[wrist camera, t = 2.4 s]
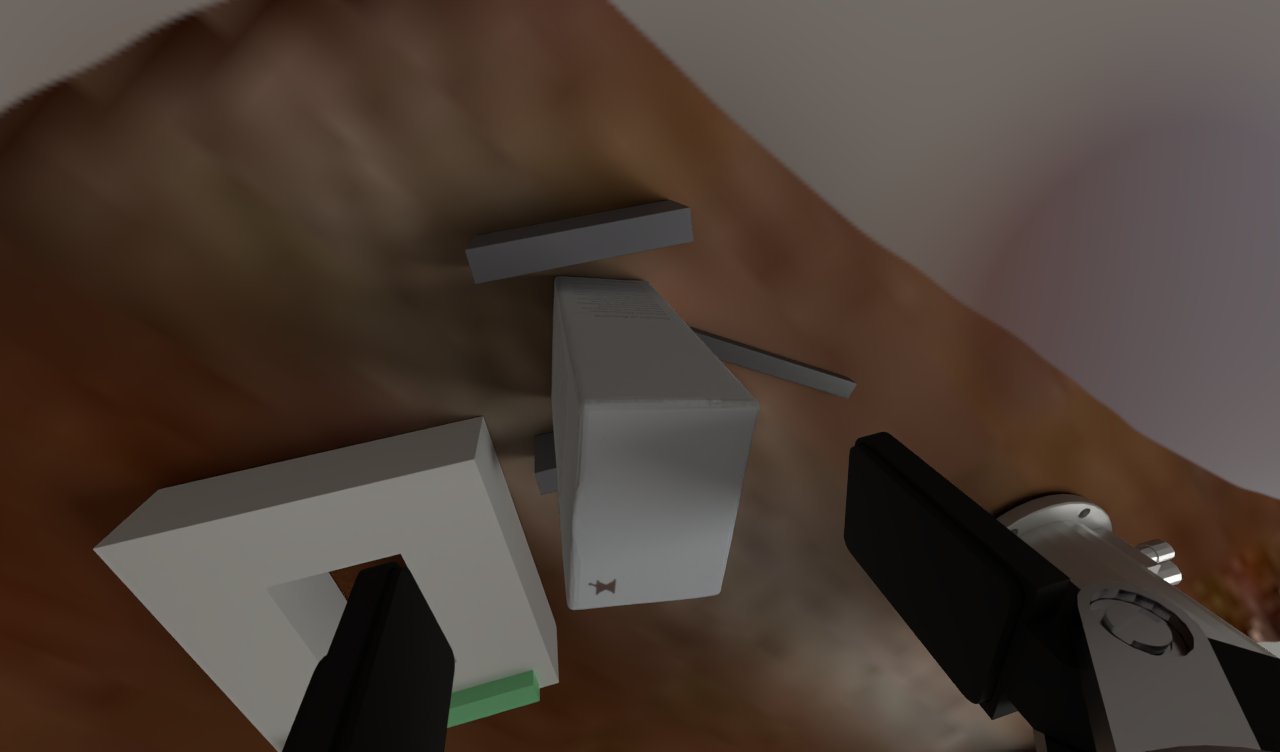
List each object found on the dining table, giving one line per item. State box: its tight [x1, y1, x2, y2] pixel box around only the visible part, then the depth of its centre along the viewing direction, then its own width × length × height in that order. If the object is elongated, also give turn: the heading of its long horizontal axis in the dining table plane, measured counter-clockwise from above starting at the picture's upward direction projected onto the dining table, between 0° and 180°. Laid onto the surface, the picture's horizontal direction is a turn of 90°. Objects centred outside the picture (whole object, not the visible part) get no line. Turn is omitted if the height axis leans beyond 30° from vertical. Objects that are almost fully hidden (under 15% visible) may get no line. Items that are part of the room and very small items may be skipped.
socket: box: [93, 416, 559, 752], centre depth 23 cm, size 14×15×4 cm
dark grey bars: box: [465, 200, 857, 495], centre depth 21 cm, size 16×11×3 cm
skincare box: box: [551, 276, 759, 610], centre depth 17 cm, size 6×4×12 cm
